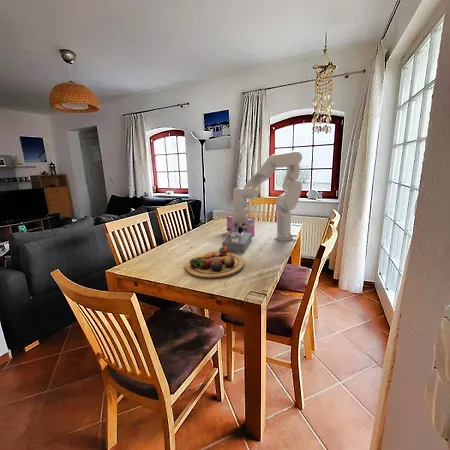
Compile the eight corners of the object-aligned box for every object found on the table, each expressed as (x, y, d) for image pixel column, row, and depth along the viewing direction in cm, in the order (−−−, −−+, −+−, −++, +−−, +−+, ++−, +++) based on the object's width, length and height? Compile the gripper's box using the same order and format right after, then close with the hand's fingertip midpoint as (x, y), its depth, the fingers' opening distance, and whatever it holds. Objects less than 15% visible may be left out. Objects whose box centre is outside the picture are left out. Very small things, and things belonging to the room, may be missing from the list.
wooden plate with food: (213, 252, 157) (212, 239, 155) (255, 262, 136) (255, 248, 134) (173, 270, 133) (171, 256, 131) (217, 286, 113) (216, 270, 111)
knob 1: (239, 248, 160) (239, 238, 158) (237, 250, 156) (237, 240, 154) (232, 247, 161) (232, 237, 160) (231, 249, 157) (230, 239, 156)
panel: (251, 241, 174) (251, 232, 173) (244, 253, 152) (243, 243, 150) (232, 240, 178) (232, 232, 177) (222, 251, 156) (222, 242, 155)
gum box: (225, 232, 199) (225, 216, 196) (232, 230, 205) (231, 214, 201) (248, 237, 183) (247, 219, 179) (255, 235, 188) (254, 218, 184)
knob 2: (244, 241, 173) (244, 232, 171) (242, 243, 169) (242, 234, 167) (238, 241, 174) (237, 232, 173) (236, 243, 170) (236, 233, 168)
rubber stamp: (231, 236, 166) (231, 227, 165) (230, 237, 164) (230, 228, 162) (227, 236, 167) (227, 227, 166) (226, 237, 164) (225, 228, 163)
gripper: (251, 205, 167) (252, 231, 171) (230, 205, 171) (231, 230, 176) (249, 207, 160) (250, 234, 164) (227, 207, 164) (228, 233, 169)
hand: (240, 232), depth 170 cm, fingers closed
